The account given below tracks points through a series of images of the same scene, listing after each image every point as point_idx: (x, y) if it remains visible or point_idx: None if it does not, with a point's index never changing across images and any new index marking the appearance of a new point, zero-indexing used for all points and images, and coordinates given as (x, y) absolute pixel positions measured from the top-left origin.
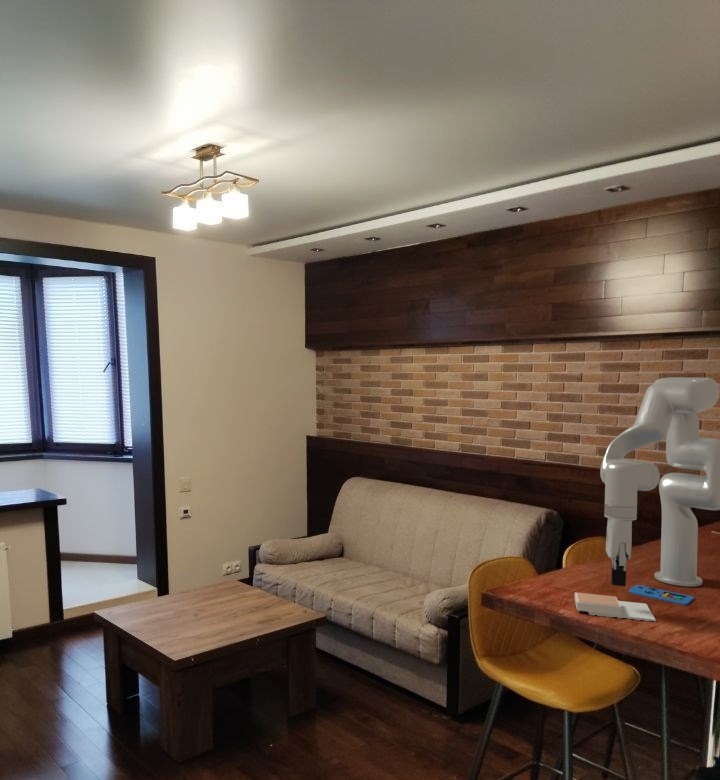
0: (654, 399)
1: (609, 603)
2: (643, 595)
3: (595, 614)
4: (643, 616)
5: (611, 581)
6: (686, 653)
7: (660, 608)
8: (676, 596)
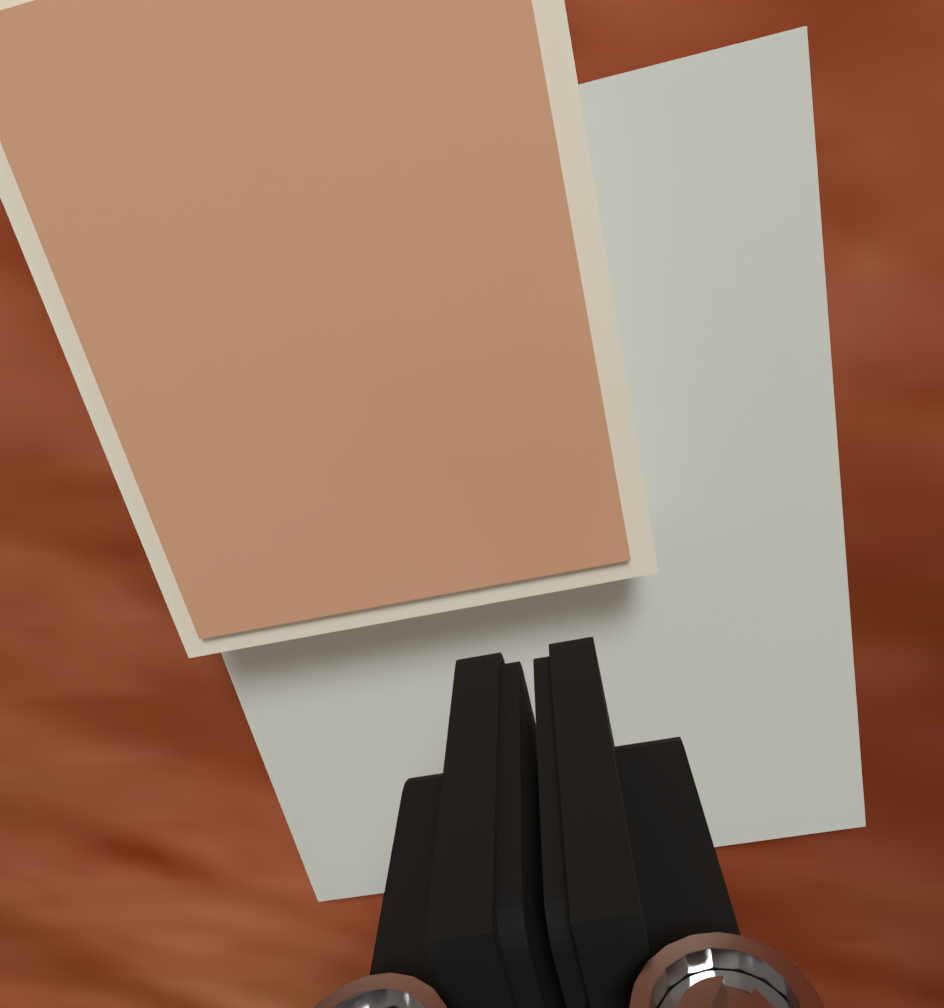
0: None
1: (206, 519)
2: None
3: None
4: (347, 808)
5: (560, 657)
6: None
7: (834, 918)
8: None
